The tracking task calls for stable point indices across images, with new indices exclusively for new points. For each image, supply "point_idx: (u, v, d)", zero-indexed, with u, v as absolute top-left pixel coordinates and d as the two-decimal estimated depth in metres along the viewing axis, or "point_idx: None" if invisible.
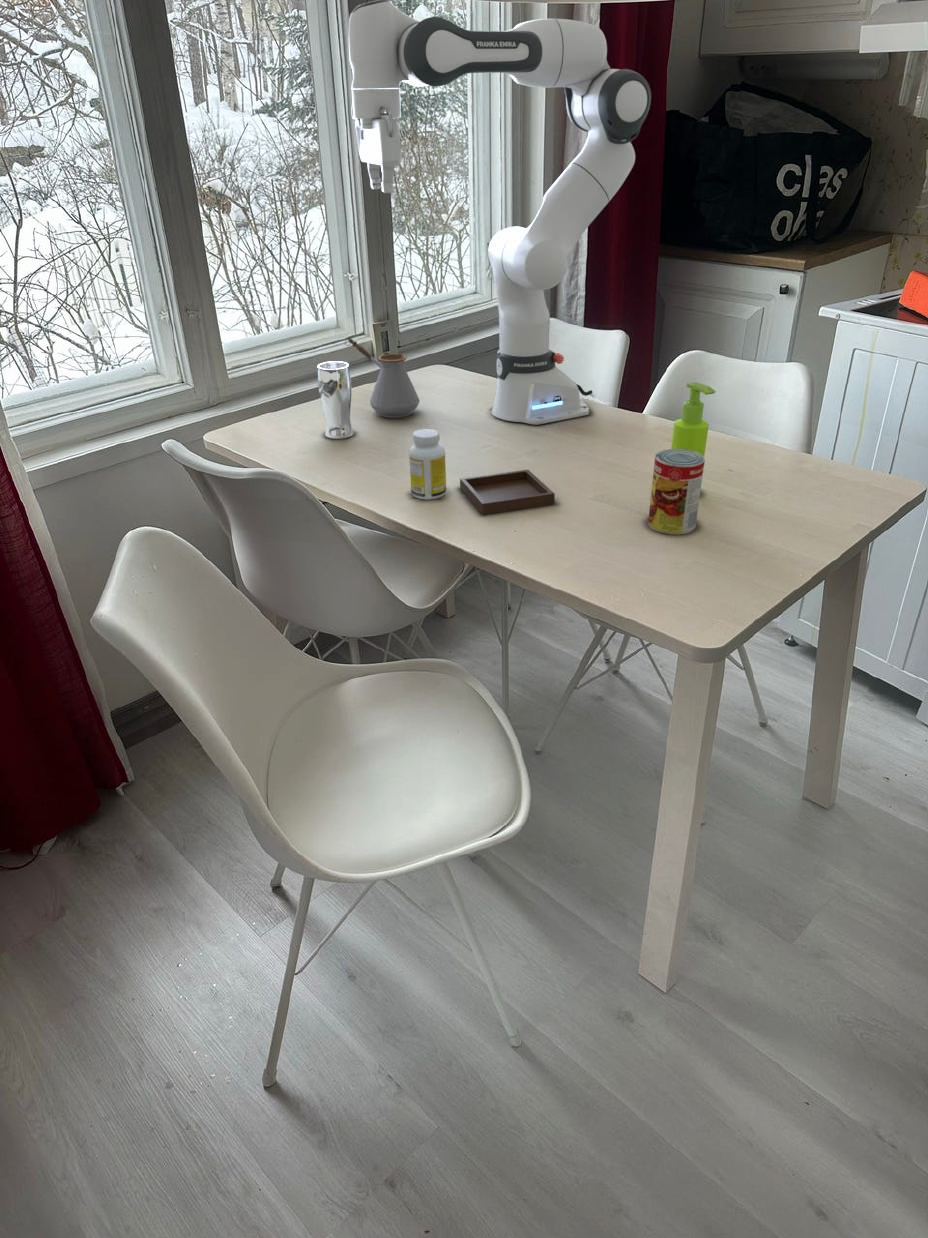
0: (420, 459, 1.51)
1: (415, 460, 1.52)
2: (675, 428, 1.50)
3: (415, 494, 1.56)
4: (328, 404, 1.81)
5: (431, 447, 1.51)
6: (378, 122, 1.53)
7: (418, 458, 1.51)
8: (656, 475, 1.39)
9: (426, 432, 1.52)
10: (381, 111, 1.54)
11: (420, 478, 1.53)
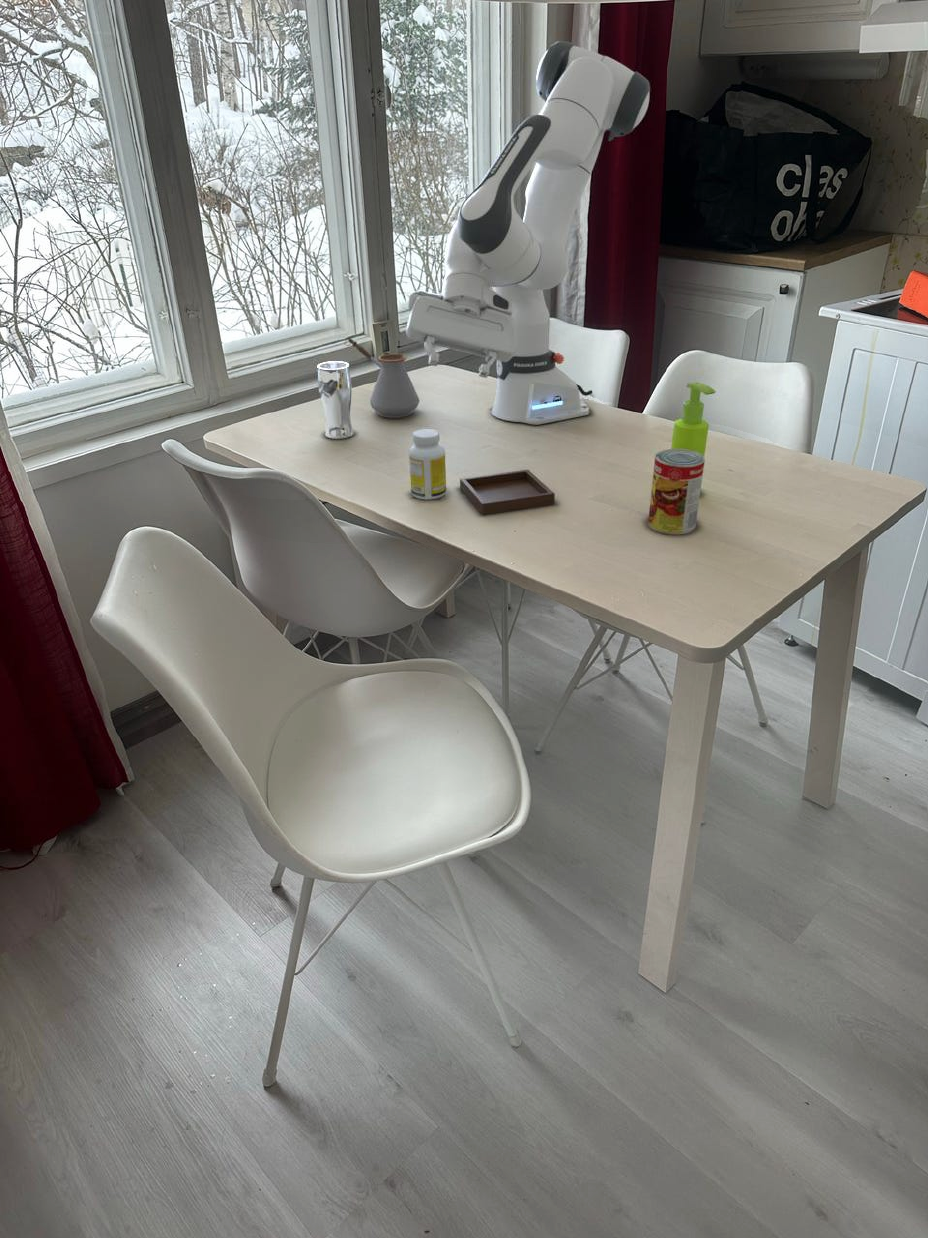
0: (420, 459, 1.51)
1: (415, 460, 1.52)
2: (675, 428, 1.50)
3: (415, 494, 1.56)
4: (328, 404, 1.81)
5: (431, 447, 1.51)
6: None
7: (418, 458, 1.51)
8: (656, 475, 1.39)
9: (426, 432, 1.52)
10: None
11: (420, 478, 1.53)
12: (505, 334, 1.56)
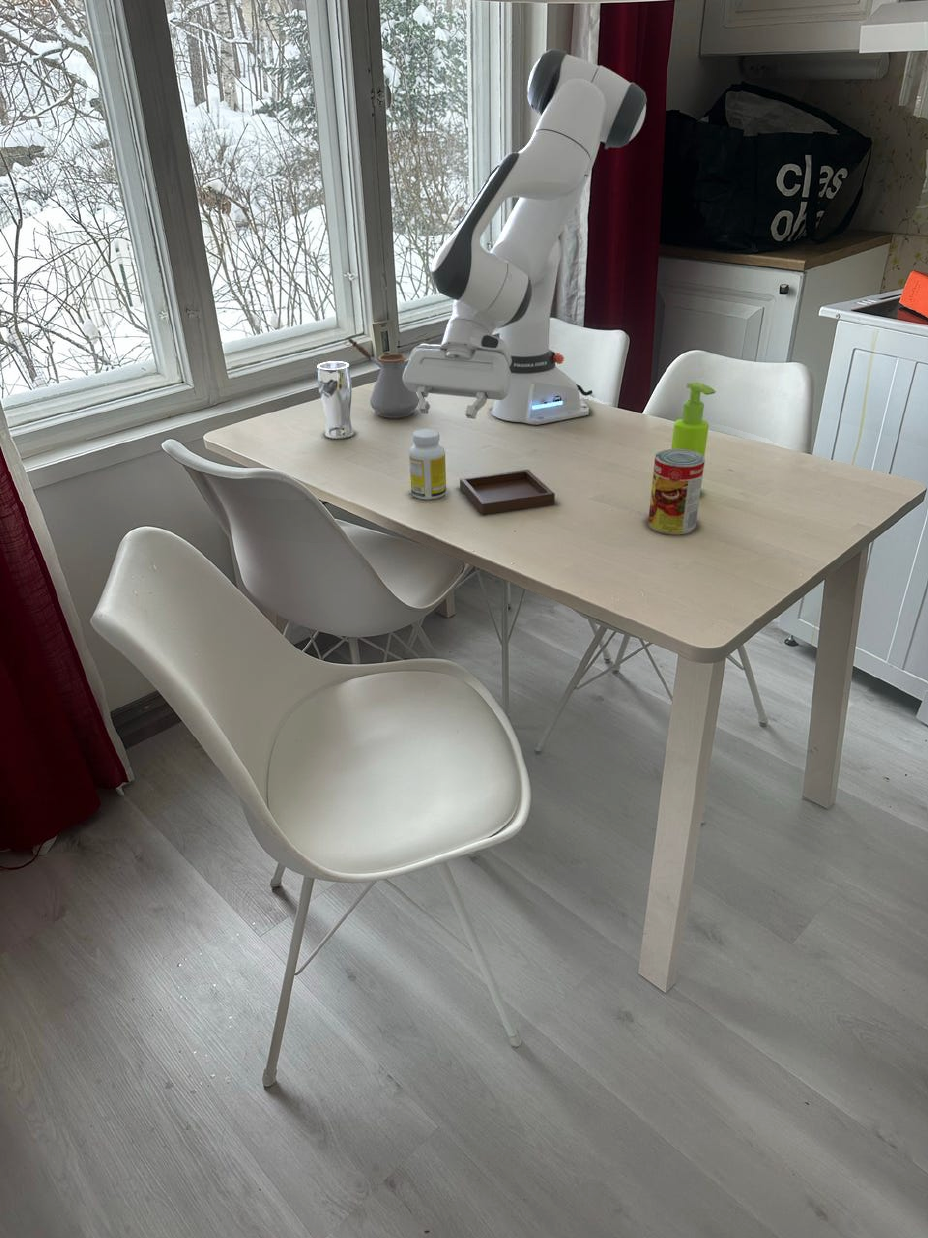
0: (420, 459, 1.51)
1: (415, 460, 1.52)
2: (675, 428, 1.50)
3: (415, 494, 1.56)
4: (328, 404, 1.81)
5: (431, 447, 1.51)
6: None
7: (418, 458, 1.51)
8: (656, 475, 1.39)
9: (426, 432, 1.52)
10: None
11: (420, 478, 1.53)
12: (493, 373, 1.54)
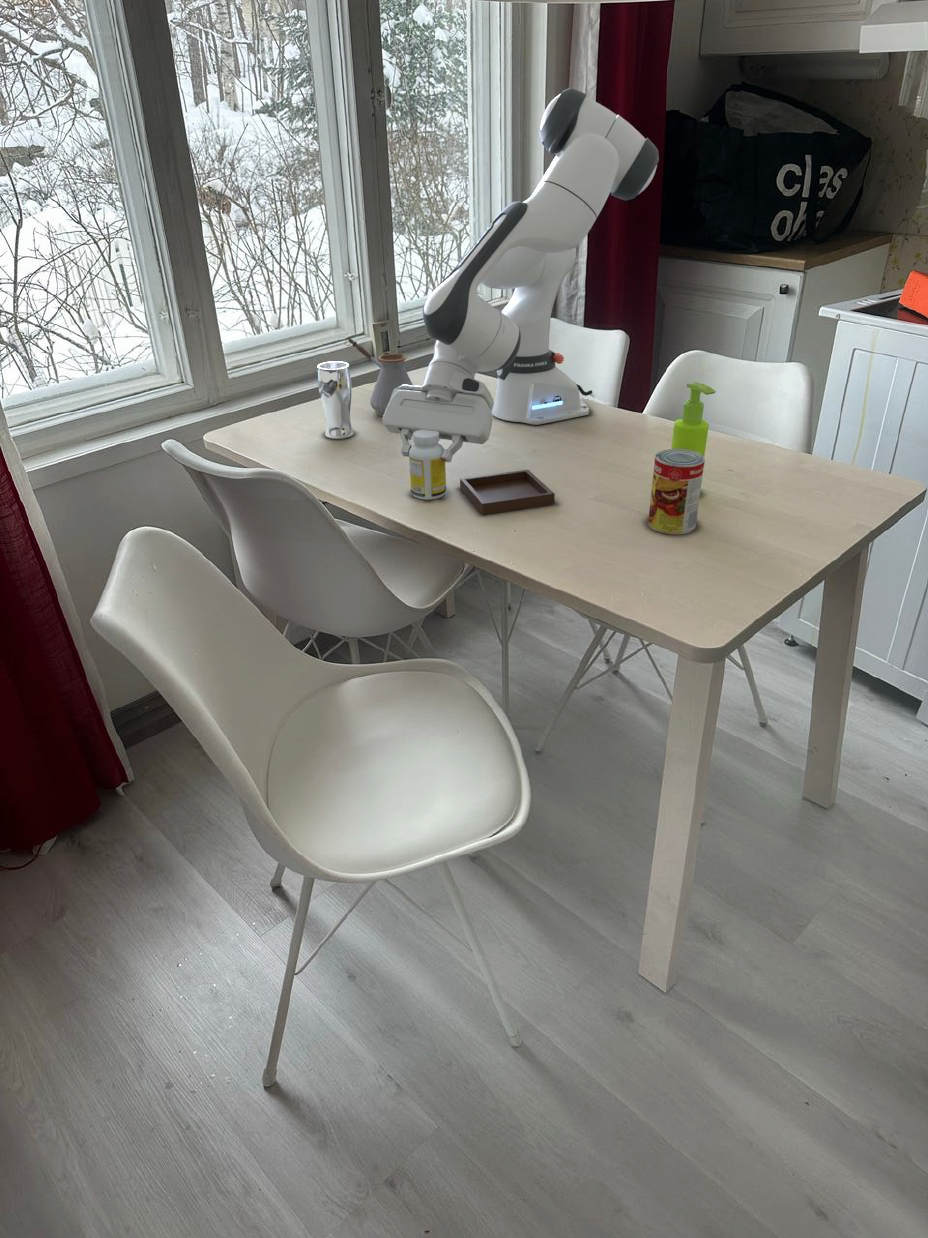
0: (420, 459, 1.51)
1: (415, 460, 1.52)
2: (675, 428, 1.50)
3: (415, 494, 1.56)
4: (328, 404, 1.81)
5: (431, 447, 1.51)
6: None
7: (418, 458, 1.51)
8: (656, 475, 1.39)
9: (426, 432, 1.52)
10: None
11: (420, 479, 1.53)
12: (474, 417, 1.51)
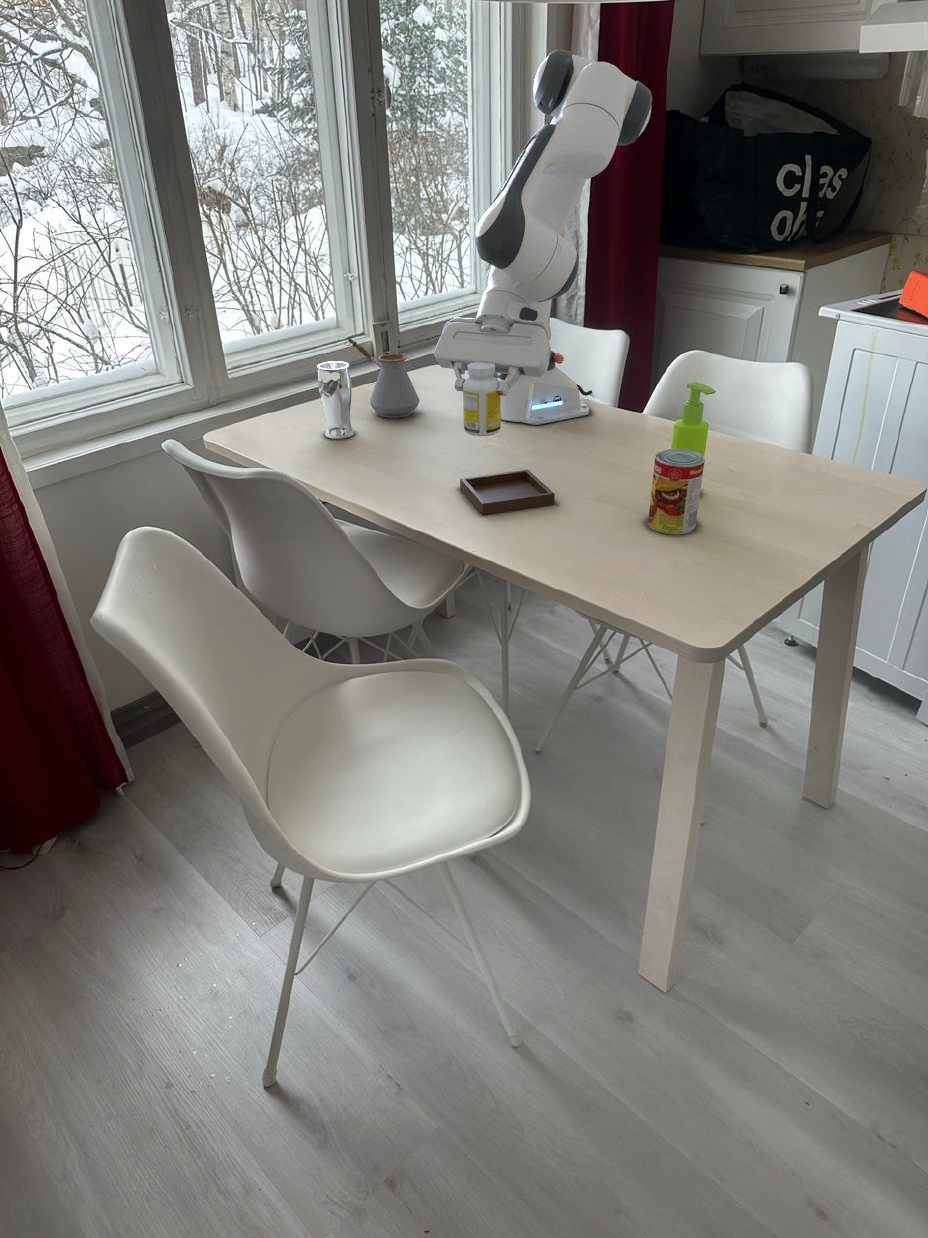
0: (475, 392, 1.44)
1: (470, 393, 1.45)
2: (675, 428, 1.50)
3: (469, 431, 1.48)
4: (328, 404, 1.81)
5: (487, 379, 1.44)
6: None
7: (473, 391, 1.44)
8: (656, 474, 1.39)
9: (481, 364, 1.45)
10: None
11: (475, 413, 1.46)
12: (532, 348, 1.44)
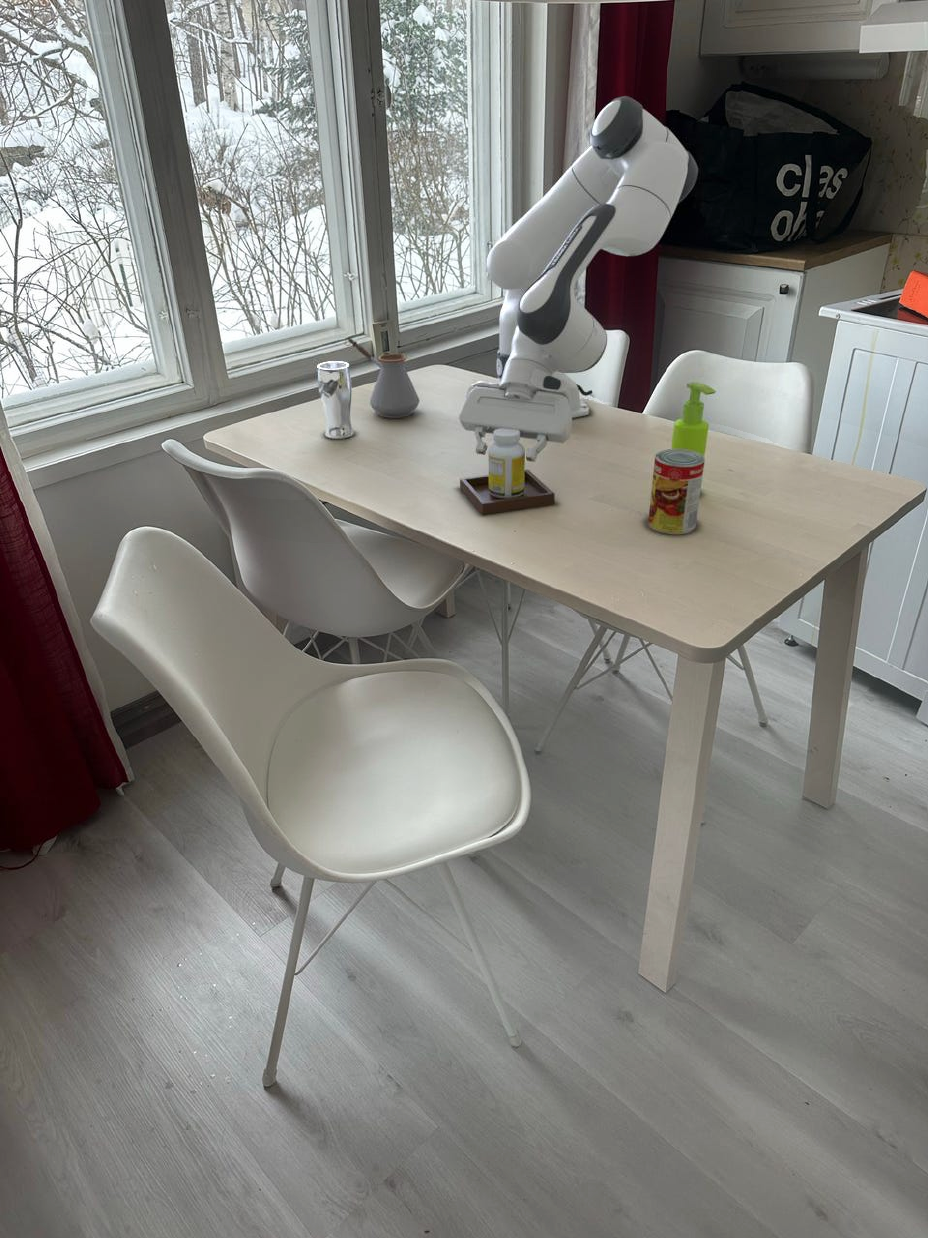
0: (501, 458, 1.50)
1: (496, 459, 1.50)
2: (675, 428, 1.50)
3: (494, 493, 1.54)
4: (328, 404, 1.81)
5: (513, 446, 1.50)
6: None
7: (500, 457, 1.50)
8: (656, 475, 1.39)
9: (507, 430, 1.51)
10: None
11: (501, 478, 1.52)
12: (555, 416, 1.49)
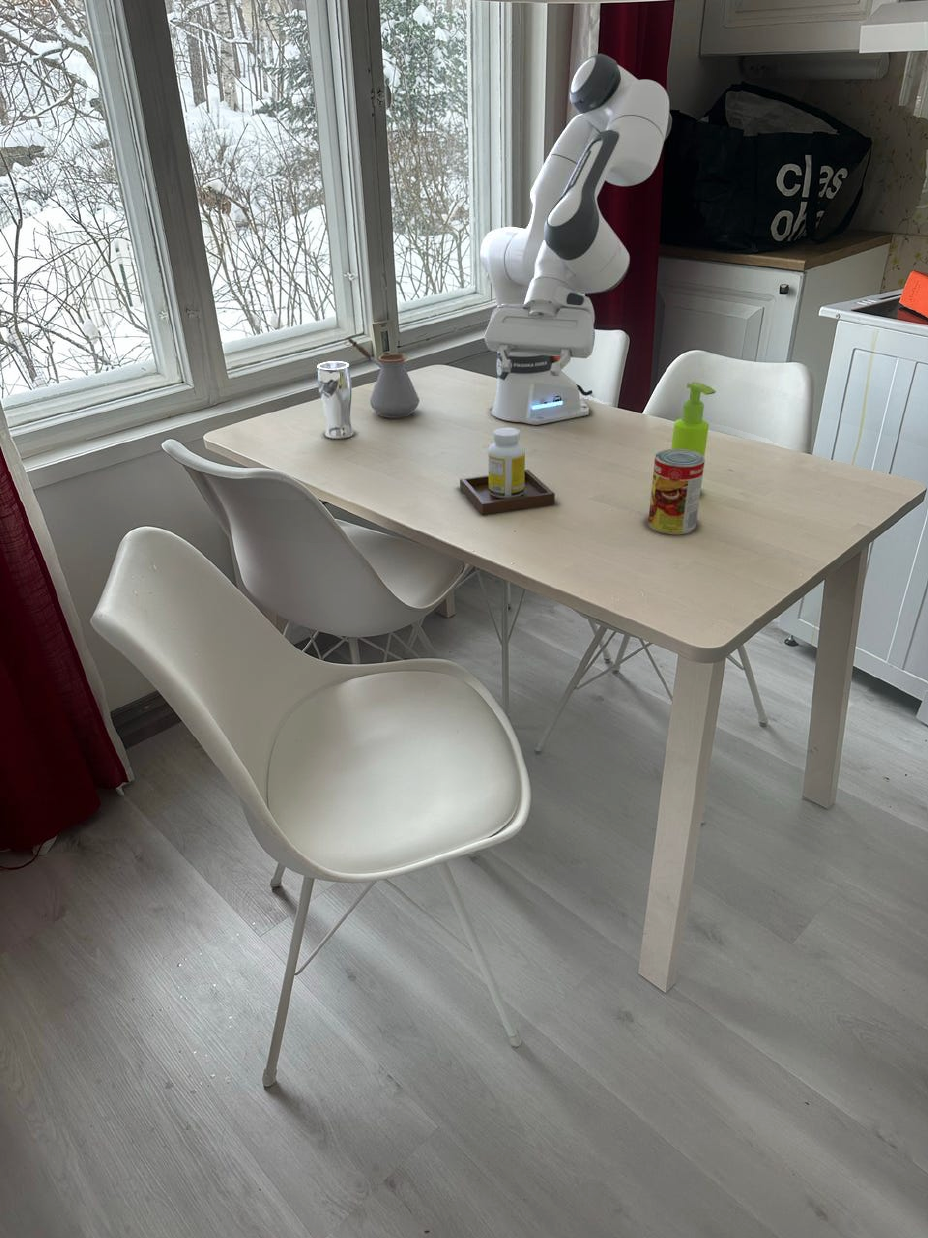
0: (501, 458, 1.50)
1: (496, 459, 1.50)
2: (675, 428, 1.50)
3: (494, 493, 1.54)
4: (328, 404, 1.81)
5: (513, 445, 1.50)
6: None
7: (500, 457, 1.50)
8: (656, 474, 1.39)
9: (507, 430, 1.51)
10: None
11: (501, 478, 1.52)
12: (579, 330, 1.53)
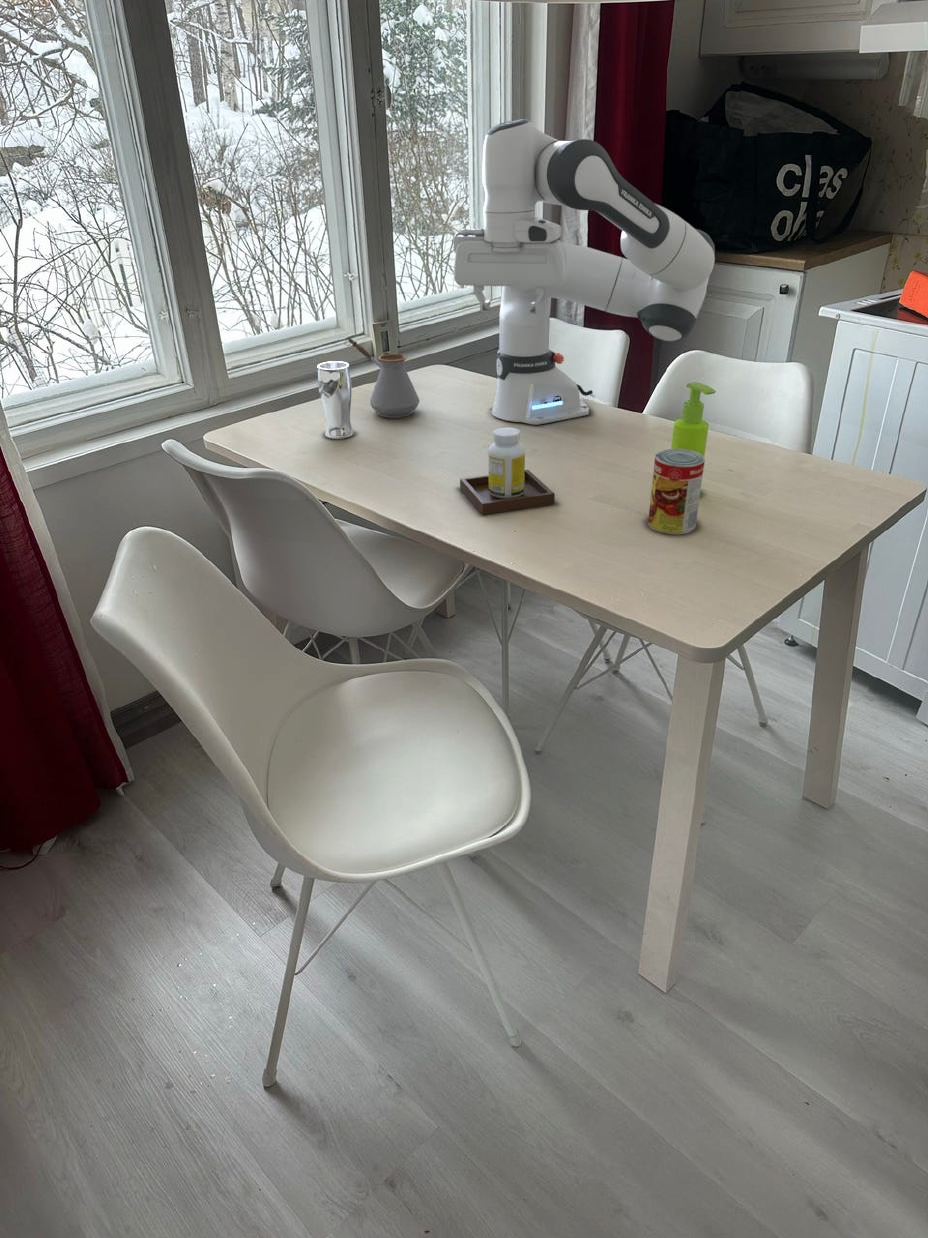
0: (501, 458, 1.50)
1: (496, 459, 1.50)
2: (675, 428, 1.50)
3: (494, 493, 1.54)
4: (328, 404, 1.81)
5: (513, 445, 1.50)
6: None
7: (500, 457, 1.50)
8: (656, 474, 1.39)
9: (507, 430, 1.51)
10: None
11: (501, 478, 1.52)
12: (549, 267, 1.48)
